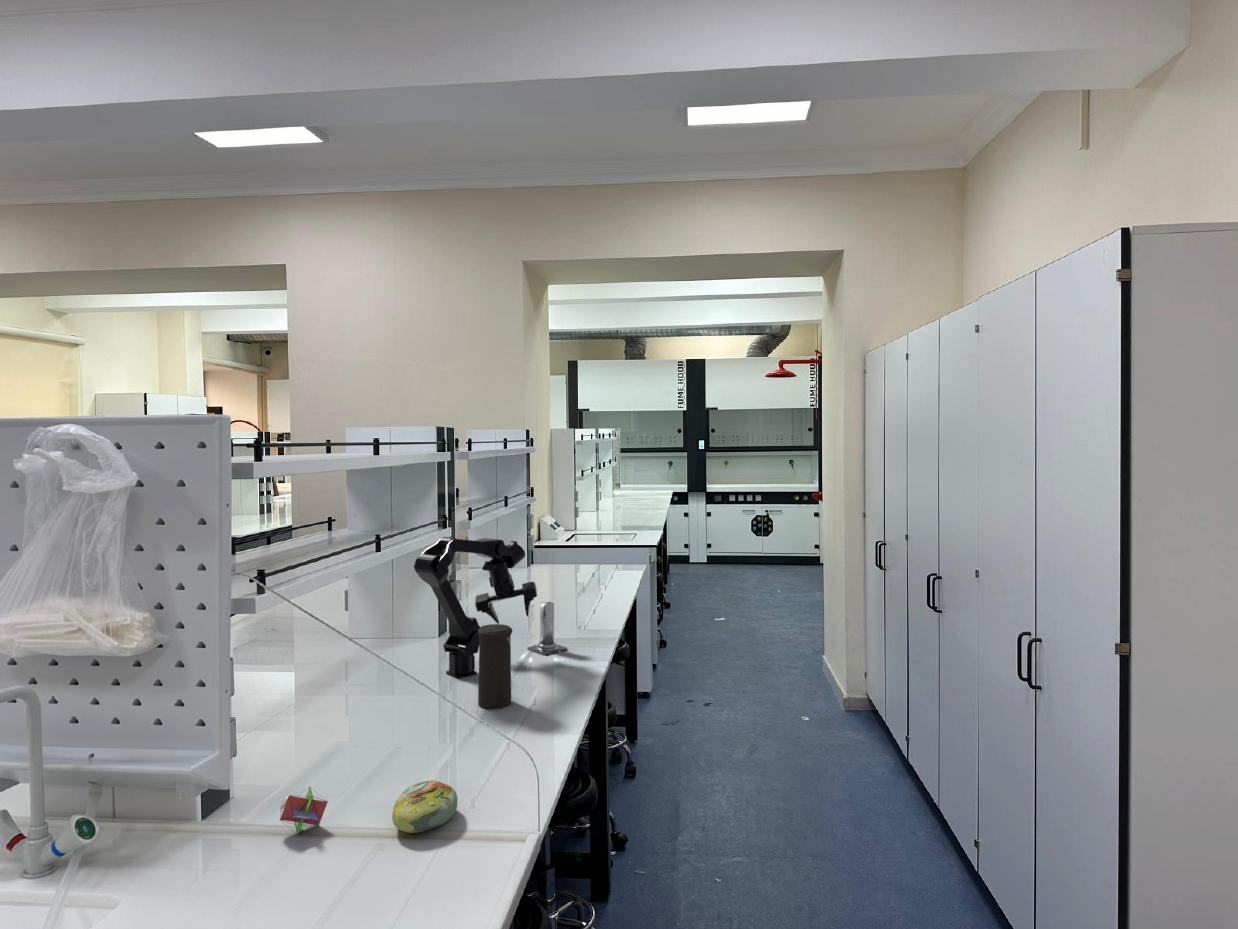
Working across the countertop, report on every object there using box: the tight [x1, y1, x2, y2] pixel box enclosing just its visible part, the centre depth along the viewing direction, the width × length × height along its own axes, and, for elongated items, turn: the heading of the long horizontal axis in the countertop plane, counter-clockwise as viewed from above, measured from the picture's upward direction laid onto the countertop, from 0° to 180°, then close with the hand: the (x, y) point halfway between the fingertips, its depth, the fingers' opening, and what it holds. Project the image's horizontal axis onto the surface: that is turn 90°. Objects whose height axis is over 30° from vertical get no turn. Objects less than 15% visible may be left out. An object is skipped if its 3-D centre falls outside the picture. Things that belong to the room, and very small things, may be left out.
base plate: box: [526, 644, 568, 656], centre depth 247 cm, size 9×9×1 cm
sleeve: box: [537, 601, 556, 650], centre depth 247 cm, size 6×6×14 cm
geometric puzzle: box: [279, 787, 329, 837], centre depth 134 cm, size 7×7×8 cm
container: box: [477, 623, 513, 710], centre depth 197 cm, size 9×9×20 cm
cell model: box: [391, 779, 458, 834], centre depth 138 cm, size 11×8×15 cm
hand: (513, 619), depth 241 cm, fingers open, 9 cm apart
